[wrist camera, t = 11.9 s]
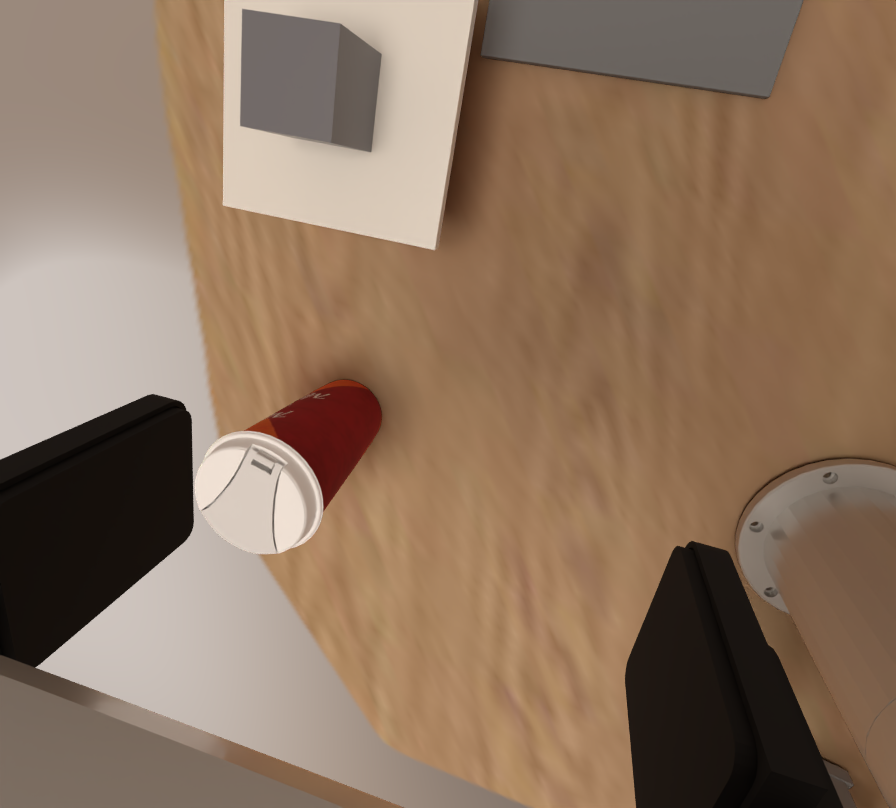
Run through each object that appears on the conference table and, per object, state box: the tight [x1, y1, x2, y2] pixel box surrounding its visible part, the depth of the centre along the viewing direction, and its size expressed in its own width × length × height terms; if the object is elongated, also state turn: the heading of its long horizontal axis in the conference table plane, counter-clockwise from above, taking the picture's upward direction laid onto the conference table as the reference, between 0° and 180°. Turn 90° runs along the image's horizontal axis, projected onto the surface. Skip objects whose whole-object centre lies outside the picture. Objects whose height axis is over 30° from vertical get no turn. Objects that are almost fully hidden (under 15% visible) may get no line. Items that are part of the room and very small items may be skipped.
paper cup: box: [195, 380, 382, 554], centre depth 36 cm, size 8×8×14 cm
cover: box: [223, 0, 478, 250], centre depth 26 cm, size 13×13×6 cm
